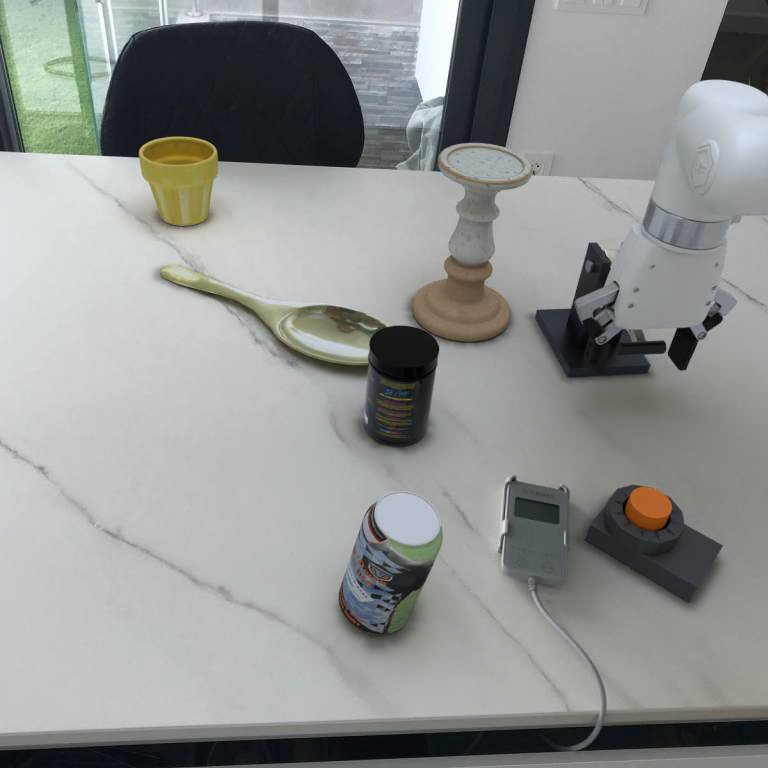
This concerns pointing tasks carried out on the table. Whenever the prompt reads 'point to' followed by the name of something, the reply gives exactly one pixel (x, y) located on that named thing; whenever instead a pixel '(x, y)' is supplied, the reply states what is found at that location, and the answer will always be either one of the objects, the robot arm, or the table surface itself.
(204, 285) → the spoon
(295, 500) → the table surface
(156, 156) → the flower pot
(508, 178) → the candle holder
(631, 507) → the power button
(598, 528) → the button switch box
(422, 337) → the supplement container
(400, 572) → the beverage can
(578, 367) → the black lever switch stand
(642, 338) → the t-shaped lever handle
